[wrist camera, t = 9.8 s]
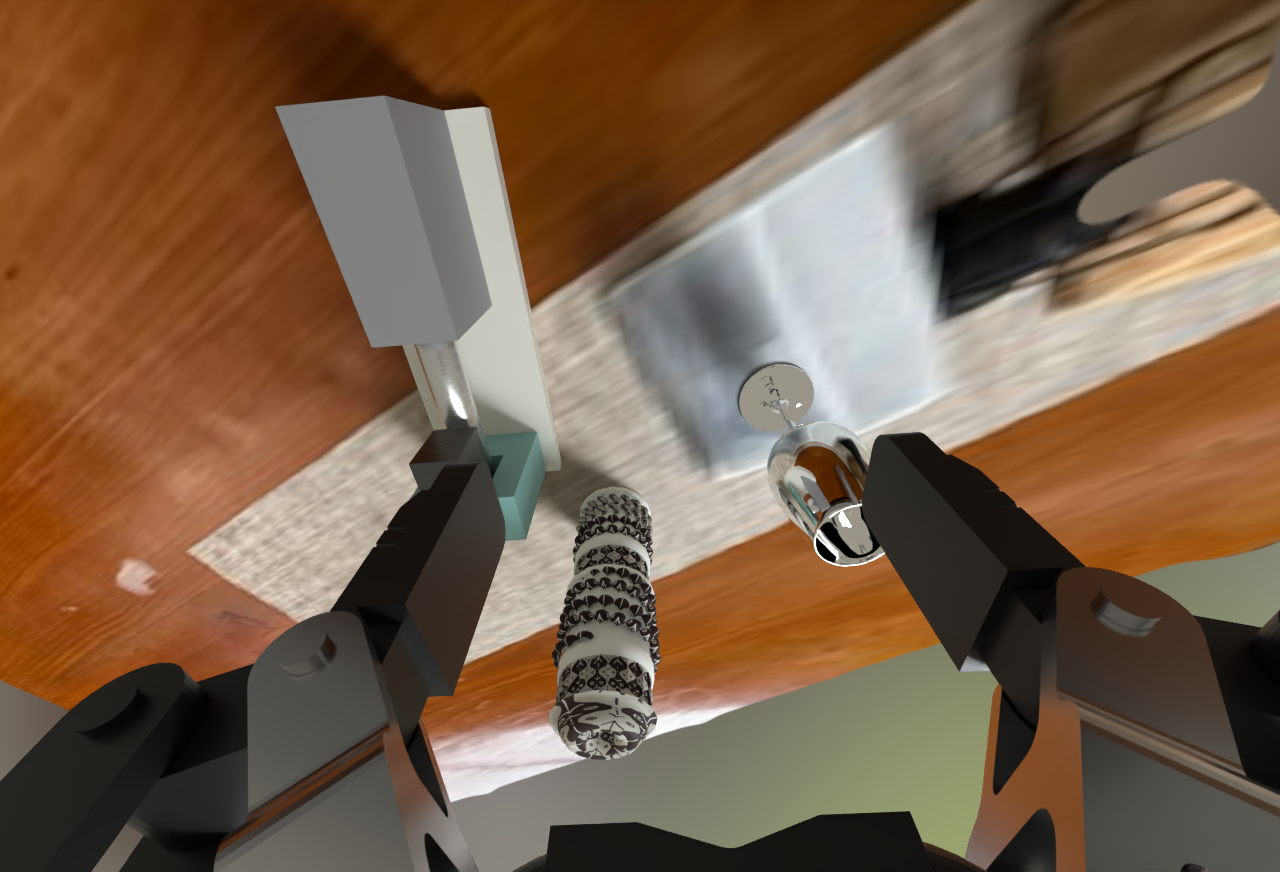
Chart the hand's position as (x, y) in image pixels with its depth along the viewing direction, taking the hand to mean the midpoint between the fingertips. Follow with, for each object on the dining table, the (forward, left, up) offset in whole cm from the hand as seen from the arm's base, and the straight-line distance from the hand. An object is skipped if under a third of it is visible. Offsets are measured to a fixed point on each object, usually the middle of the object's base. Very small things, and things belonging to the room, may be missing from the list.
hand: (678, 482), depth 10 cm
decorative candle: (+30, -6, -34) cm, 46 cm away
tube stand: (+6, -17, -34) cm, 38 cm away
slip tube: (+9, -17, -28) cm, 34 cm away
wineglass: (+16, +12, -34) cm, 40 cm away
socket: (+19, -17, -32) cm, 42 cm away
